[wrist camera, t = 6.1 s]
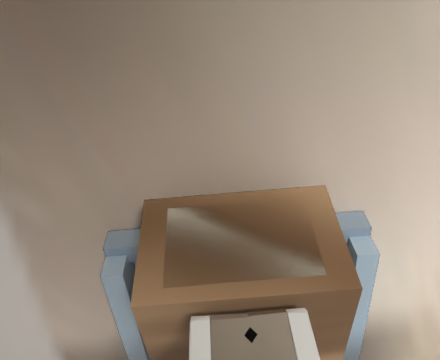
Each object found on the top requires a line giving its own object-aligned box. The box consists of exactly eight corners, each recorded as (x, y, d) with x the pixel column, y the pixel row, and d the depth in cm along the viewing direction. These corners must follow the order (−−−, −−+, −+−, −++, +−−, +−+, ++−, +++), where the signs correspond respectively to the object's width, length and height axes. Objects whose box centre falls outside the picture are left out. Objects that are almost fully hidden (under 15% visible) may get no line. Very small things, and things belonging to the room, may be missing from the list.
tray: (108, 231, 16) (97, 268, 14) (363, 210, 16) (381, 245, 14) (160, 408, 24) (157, 446, 22) (334, 394, 24) (344, 432, 22)
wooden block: (130, 307, 11) (173, 420, 16) (362, 288, 11) (328, 408, 16) (144, 199, 14) (176, 325, 19) (325, 185, 14) (307, 315, 19)
